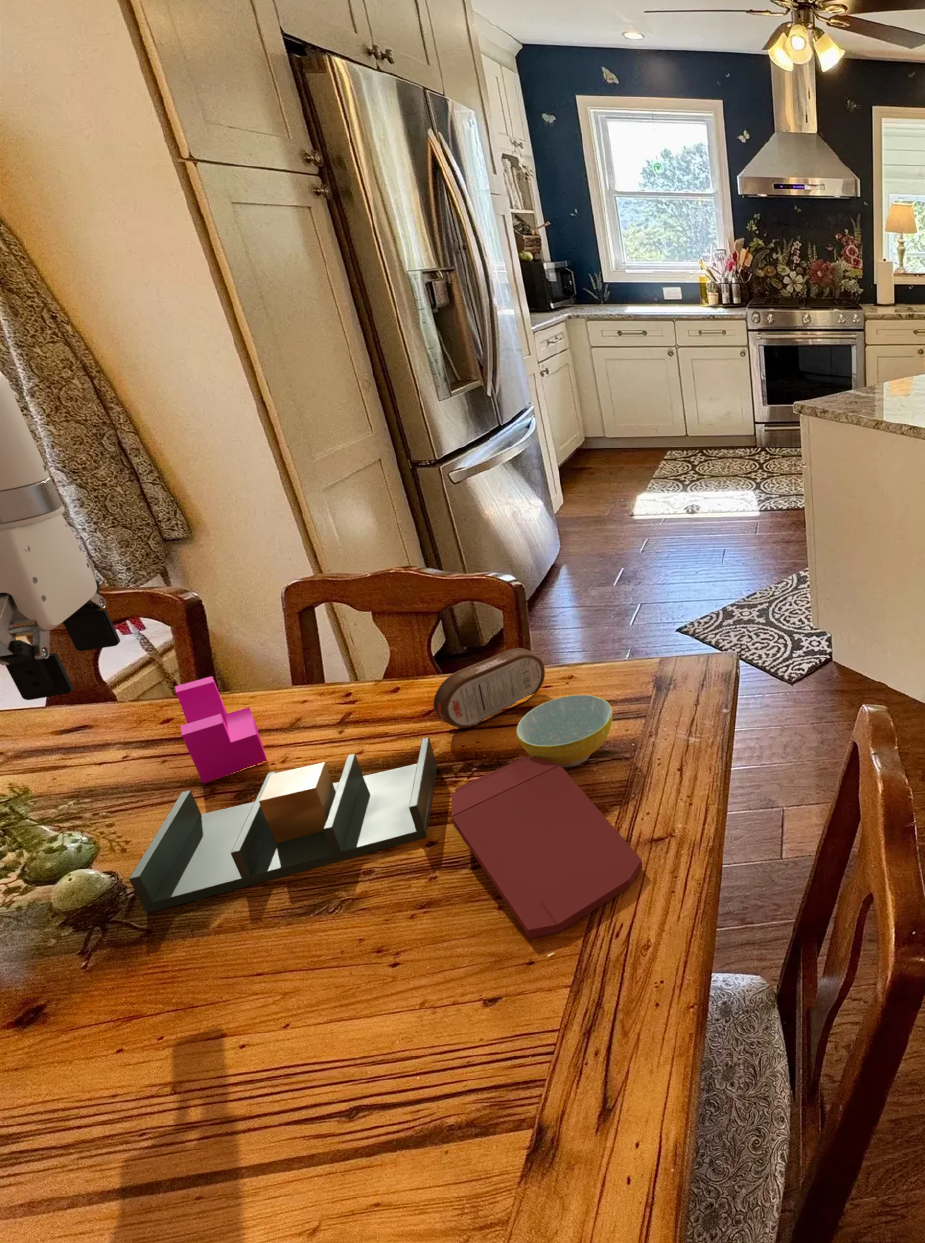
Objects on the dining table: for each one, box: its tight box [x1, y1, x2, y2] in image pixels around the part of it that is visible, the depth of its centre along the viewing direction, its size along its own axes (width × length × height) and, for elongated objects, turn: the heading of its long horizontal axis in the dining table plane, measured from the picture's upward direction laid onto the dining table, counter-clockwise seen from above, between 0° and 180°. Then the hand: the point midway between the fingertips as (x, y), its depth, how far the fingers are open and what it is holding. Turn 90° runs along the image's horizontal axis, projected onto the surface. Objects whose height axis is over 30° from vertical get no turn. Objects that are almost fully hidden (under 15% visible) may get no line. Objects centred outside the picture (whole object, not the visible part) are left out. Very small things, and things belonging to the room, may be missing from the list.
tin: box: [433, 647, 546, 729], centre depth 106 cm, size 15×3×8 cm, turn 148°
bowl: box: [516, 694, 613, 768], centre depth 97 cm, size 11×12×6 cm
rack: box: [128, 737, 438, 914], centre depth 84 cm, size 24×14×5 cm, turn 117°
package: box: [259, 761, 336, 843], centre depth 84 cm, size 5×5×6 cm
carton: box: [450, 756, 643, 939], centre depth 83 cm, size 12×5×25 cm
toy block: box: [174, 675, 268, 785], centre depth 97 cm, size 15×6×8 cm, turn 45°
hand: (76, 670), depth 72 cm, fingers open, 9 cm apart
